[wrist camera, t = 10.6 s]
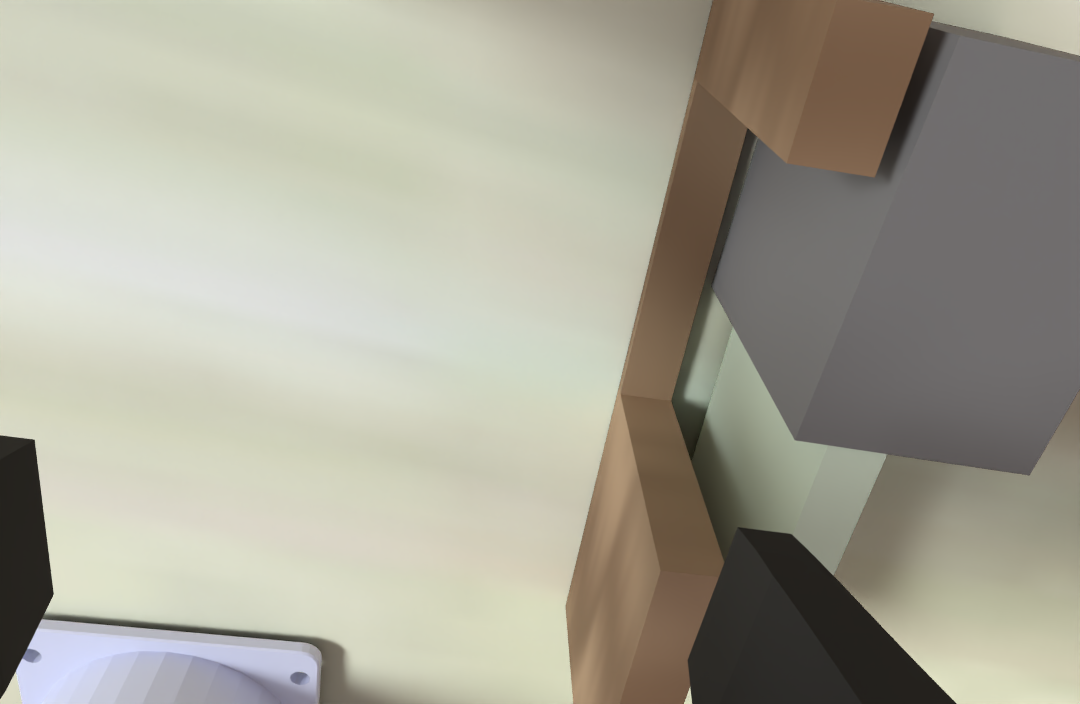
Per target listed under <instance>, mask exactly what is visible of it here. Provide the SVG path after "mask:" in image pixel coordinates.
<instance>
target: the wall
mask: <svg viewBox="0 0 1080 704" xmlns="http://www.w3.org/2000/svg"><path fill="white" fill-rule="evenodd" d="M933 16H934V14H933V13H929V12H925V11H921V10H917V9H913V8H908V7H904V6H900V5H896V4H892V3H888V2H884V1H880V0H713V3H712V7H711V11H710V15H709V19H708V23H707V27H706V31H705V35H704V40H703V44H702V48H701V52H700V56H699V60H698V64H697V68H696V72H695V77H694V81H693V85H692V89H691V93H690V97H689V101H688V105H687V109H686V114H685V118H684V122H683V126H682V130H681V134H680V138H679V142H678V146H677V150H676V155H675V159H674V163H673V167H672V171H671V175H670V179H669V183H668V187H667V192H666V196H665V200H664V204H663V208H662V212H661V216H660V220H659V224H658V229H657V233H656V237H655V241H654V245H653V249H652V253H651V257H650V261H649V266H648V270H647V274H646V278H645V282H644V286H643V290H642V294H641V298H640V303H639V307H638V311H637V315H636V319H635V323H634V327H633V331H632V335H631V340H630V344H629V348H628V352H627V356H626V360H625V364H624V368H623V372H622V377H621V381H620V385H619V389H618V393H617V397H616V401H615V405H614V409H613V414H612V418H611V422H610V426H609V430H608V434H607V438H606V442H605V446H604V451H603V455H602V459H601V463H600V467H599V471H598V475H597V479H596V483H595V488H594V492H593V496H592V500H591V504H590V508H589V512H588V516H587V520H586V525H585V529H584V533H583V537H582V541H581V545H580V549H579V553H578V557H577V562H576V566H575V570H574V574H573V578H572V582H571V586H570V590H569V594H568V599H567V603H566V618H567V630H568V643H569V655H570V668H571V680H572V693H573V704H684V702H685V699H686V696H687V693H688V691H689V688H690V678H689V669H688V658H689V655H690V652H691V650H692V647H693V644H694V642H695V639H696V636H697V634H698V631H699V628H700V626H701V623H702V620H703V618H704V615H705V612H706V610H707V607H708V605H709V602H710V599H711V597H712V594H713V591H714V589H715V586H716V583H717V581H718V578H719V575H720V573H721V570H722V567H723V565H724V560H723V557H722V554H721V551H720V548H719V545H718V542H717V539H716V536H715V533H714V530H713V527H712V524H711V521H710V518H709V515H708V511H707V508H706V505H705V502H704V499H703V496H702V493H701V490H700V487H699V484H698V481H697V478H696V475H695V472H694V469H693V466H692V463H691V460H690V457H689V454H688V451H687V448H686V445H685V442H684V439H683V436H682V432H681V429H680V426H679V423H678V420H677V417H676V414H675V411H674V408H673V405H672V402H671V399H672V396H673V392H674V388H675V385H676V381H677V378H678V374H679V371H680V367H681V364H682V360H683V356H684V353H685V349H686V346H687V342H688V339H689V335H690V331H691V328H692V324H693V321H694V317H695V314H696V310H697V307H698V303H699V299H700V296H701V292H702V289H703V285H704V282H705V278H706V274H707V271H708V267H709V264H710V260H711V257H712V253H713V249H714V246H715V242H716V239H717V235H718V232H719V228H720V225H721V221H722V217H723V214H724V210H725V207H726V203H727V200H728V196H729V192H730V189H731V185H732V182H733V178H734V175H735V171H736V168H737V164H738V160H739V157H740V153H741V150H742V146H743V143H744V139H745V135H746V132H747V128H748V129H749V130H750V131H752V132H753V133H754V134H755V135H756V136H757V137H758V138H759V139H760V140H761V141H763V142H764V143H765V144H766V145H767V146H768V147H769V148H770V149H771V150H772V151H773V152H775V153H776V154H777V155H778V156H779V157H780V158H781V159H782V160H783V161H784V162H786V163H787V164H793V165H799V166H806V167H812V168H818V169H825V170H831V171H837V172H843V173H850V174H856V175H862V176H869V177H875V176H876V173H877V170H878V167H879V165H880V162H881V159H882V156H883V154H884V151H885V148H886V145H887V143H888V140H889V137H890V134H891V132H892V129H893V126H894V123H895V120H896V118H897V115H898V112H899V109H900V107H901V104H902V101H903V98H904V96H905V93H906V90H907V87H908V85H909V82H910V79H911V76H912V74H913V71H914V68H915V65H916V63H917V60H918V57H919V54H920V52H921V49H922V46H923V43H924V41H925V38H926V35H927V32H928V30H929V27H930V24H931V21H932V19H933Z"/></svg>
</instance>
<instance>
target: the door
mask: <svg viewBox="0 0 1080 704" xmlns="http://www.w3.org/2000/svg"><path fill="white" fill-rule="evenodd" d="M886 456H887V454H883V453H876V452H869V451H863V450H856V449H849V448H843V447H836V446H829V445H822V444H816V443H809V442H802V441H796V440H794V438H793V436H792V434H791V433H790V431H789V429H788V427H787V425H786V423H785V421H784V420H783V418H782V416H781V414H780V412H779V410H778V409H777V407H776V405H775V403H774V401H773V399H772V397H771V396H770V394H769V392H768V390H767V388H766V386H765V385H764V383H763V381H762V379H761V377H760V375H759V373H758V372H757V370H756V368H755V366H754V364H753V362H752V361H751V359H750V357H749V355H748V353H747V351H746V349H745V348H744V346H743V344H742V342H741V340H740V338H739V337H738V335H737V333H736V331H735V329H734V327H733V328H732V331H731V334H730V338H729V341H728V344H727V347H726V351H725V354H724V357H723V360H722V364H721V367H720V370H719V373H718V377H717V380H716V383H715V386H714V390H713V393H712V396H711V399H710V403H709V406H708V409H707V412H706V416H705V419H704V422H703V426H702V429H701V432H700V435H699V439H698V442H697V445H696V448H695V452H694V455H693V458H692V461H691V463H692V466H693V469H694V472H695V475H696V478H697V481H698V484H699V487H700V490H701V493H702V496H703V499H704V502H705V505H706V508H707V511H708V515H709V518H710V521H711V524H712V527H713V530H714V533H715V536H716V539H717V542H718V545H719V548H720V551H721V554H722V557H723V560H724V562H725V560H726V557H727V554H728V552H729V549H730V546H731V544H732V541H733V538H734V536H735V533H736V530H737V528H738V527H740V528H748V529H756V530H765V531H773V532H781V533H789V534H792V535H793V536H794V537H795V538H796V539H797V540H798V541H799V542H800V543H802V544H803V545H804V546H805V547H806V548H807V549H808V550H809V551H810V552H811V553H812V554H813V555H814V556H815V557H816V558H817V559H818V560H819V561H820V562H821V563H822V564H823V565H824V567H825V568H826V569H827V570H828V571H829V572H830V573H831V574H832V575H833V576H834V574H835V572H836V569H837V567H838V565H839V563H840V560H841V558H842V556H843V554H844V551H845V549H846V547H847V545H848V542H849V540H850V538H851V535H852V533H853V531H854V529H855V526H856V524H857V522H858V520H859V517H860V515H861V513H862V511H863V508H864V506H865V504H866V502H867V499H868V497H869V495H870V493H871V490H872V488H873V486H874V483H875V481H876V479H877V477H878V474H879V472H880V470H881V468H882V465H883V463H884V461H885V459H886Z"/></svg>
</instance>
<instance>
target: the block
mask: <svg viewBox="0 0 1080 704" xmlns="http://www.w3.org/2000/svg"><path fill="white" fill-rule="evenodd" d="M711 287H712V289H713V290H714V292H715V294H716V296H717V298H718V300H719V301H720V303H721V305H722V307H723V309H724V311H725V313H726V314H727V316H728V318H729V320H730V322H731V324H732V325H733V327H734V329H735V331H736V333H737V335H738V337H739V338H740V340H741V342H742V344H743V346H744V348H745V349H746V351H747V353H748V355H749V357H750V359H751V361H752V362H753V364H754V366H755V368H756V370H757V372H758V373H759V375H760V377H761V379H762V381H763V383H764V385H765V386H766V388H767V390H768V392H769V394H770V396H771V397H772V399H773V401H774V403H775V405H776V407H777V409H778V410H779V412H780V414H781V416H782V418H783V420H784V421H785V423H786V425H787V427H788V429H789V431H790V433H791V434H792V436H793V438H794V440H796V441H802V442H809V443H816V444H822V445H829V446H836V447H843V448H849V449H856V450H863V451H869V452H876V453H883V454H890V455H896V456H903V457H910V458H916V459H923V460H930V461H937V462H943V463H950V464H957V465H963V466H970V467H977V468H984V469H990V470H997V471H1004V472H1011V473H1017V474H1024V475H1030V474H1031V472H1032V470H1033V468H1034V467H1035V465H1036V463H1037V462H1038V460H1039V458H1040V456H1041V455H1042V453H1043V451H1044V450H1045V448H1046V446H1047V444H1048V443H1049V441H1050V439H1051V438H1052V436H1053V434H1054V432H1055V431H1056V429H1057V427H1058V426H1059V424H1060V422H1061V420H1062V419H1063V417H1064V415H1065V414H1066V412H1067V410H1068V408H1069V407H1070V405H1071V403H1072V402H1073V400H1074V398H1075V397H1076V395H1077V393H1078V391H1079V390H1080V56H1078V55H1074V54H1070V53H1066V52H1062V51H1058V50H1054V49H1050V48H1046V47H1042V46H1038V45H1034V44H1030V43H1026V42H1022V41H1018V40H1014V39H1010V38H1006V37H1002V36H997V35H993V34H988V33H983V32H979V31H974V30H970V29H965V28H961V27H956V26H951V25H947V24H942V23H938V22H933V21H931V24H930V27H929V30H928V32H927V35H926V38H925V41H924V43H923V46H922V49H921V52H920V54H919V57H918V60H917V63H916V65H915V68H914V71H913V74H912V76H911V79H910V82H909V85H908V87H907V90H906V93H905V96H904V98H903V101H902V104H901V107H900V109H899V112H898V115H897V118H896V120H895V123H894V126H893V129H892V132H891V134H890V137H889V140H888V143H887V145H886V148H885V151H884V154H883V156H882V159H881V162H880V165H879V167H878V170H877V173H876V176H875V177H869V176H862V175H856V174H850V173H843V172H837V171H831V170H825V169H818V168H812V167H806V166H799V165H793V164H787V163H786V162H784V161H783V160H782V159H781V158H780V157H779V156H778V155H777V154H776V153H775V152H773V151H772V150H771V149H770V148H769V147H768V146H767V145H766V144H765V143H764V142H763V141H761V140H760V139H759V138H758V141H757V144H756V147H755V150H754V153H753V156H752V159H751V163H750V166H749V169H748V172H747V175H746V178H745V181H744V185H743V188H742V191H741V194H740V197H739V200H738V203H737V206H736V210H735V213H734V216H733V219H732V222H731V225H730V228H729V232H728V235H727V238H726V241H725V244H724V247H723V250H722V254H721V257H720V260H719V263H718V266H717V269H716V272H715V276H714V279H713V282H712V285H711Z"/></svg>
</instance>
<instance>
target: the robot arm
mask: <svg viewBox="0 0 1080 704" xmlns="http://www.w3.org/2000/svg"><path fill="white" fill-rule="evenodd" d="M53 595H54V593H53V585H52V577H51V569H50V561H49V553H48V545H47V537H46V529H45V521H44V513H43V504H42V496H41V488H40V480H39V472H38V464H37V456H36V448H35V440H32V439H24V438H16V437H8V436H0V699H1V697H2V696H3V694H4V692H5V691H6V689H7V687H8V685H9V683H10V681H11V679H12V677H13V675H14V674H15V672H16V674H17V679H18V684H19V689H20V694H21V699H22V704H319V699H320V680H321V662H322V656H321V652H320V651H319V650H318V648H317V647H315V646H313V645H312V644H309V643H304V642H293V641H282V640H271V639H259V638H248V637H237V636H226V635H214V634H203V633H192V632H180V631H169V630H158V629H147V628H135V627H124V626H113V625H102V624H90V623H79V622H68V621H56V620H45V619H42V618H43V615H44V613H45V611H46V609H47V607H48V605H49V603H50V601H51V599H52V597H53ZM688 669H689V678H690V687H691V696H692V704H956V703H955V702H954V701H953V700H952V699H951V698H950V697H949V696H948V695H947V694H946V693H945V692H944V691H943V690H942V689H941V688H940V686H939V685H938V684H937V683H936V682H935V681H934V680H933V679H932V678H931V677H930V676H929V675H928V674H927V673H926V672H925V671H924V670H923V669H922V668H921V667H920V666H919V665H918V664H917V663H916V662H915V661H914V660H913V659H912V658H911V657H910V656H909V655H908V654H907V653H906V652H905V651H904V649H903V648H902V647H901V646H900V645H899V644H898V643H897V642H896V641H895V640H894V639H893V638H892V637H891V636H890V635H889V634H888V633H887V632H886V631H885V630H884V629H883V628H882V626H881V625H880V624H879V623H878V622H877V621H876V620H875V619H874V618H873V617H872V616H871V615H870V614H869V613H868V612H867V611H866V610H865V609H864V607H863V606H862V605H861V604H860V603H859V602H858V601H857V600H856V599H855V598H854V597H853V596H852V595H851V594H850V593H849V592H848V591H847V590H846V588H845V587H844V586H843V585H842V584H841V583H840V582H839V581H838V580H837V579H836V578H835V577H834V576H833V575H832V574H831V573H830V572H829V571H828V570H827V569H826V568H825V567H824V565H823V564H822V563H821V562H820V561H819V560H818V559H817V558H816V557H815V556H814V555H813V554H812V553H811V552H810V551H809V550H808V549H807V548H806V547H805V546H804V545H803V544H802V543H800V542H799V541H798V540H797V539H796V538H795V537H794V536H793V535H792V534H789V533H781V532H773V531H765V530H756V529H748V528H740V527H738V528H737V530H736V533H735V536H734V538H733V541H732V544H731V546H730V549H729V552H728V554H727V557H726V560H725V562H724V565H723V567H722V570H721V573H720V575H719V578H718V581H717V583H716V586H715V589H714V591H713V594H712V597H711V599H710V602H709V605H708V607H707V610H706V612H705V615H704V618H703V620H702V623H701V626H700V628H699V631H698V634H697V636H696V639H695V642H694V644H693V647H692V650H691V652H690V655H689V658H688ZM300 672H303V673H300Z"/></svg>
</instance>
